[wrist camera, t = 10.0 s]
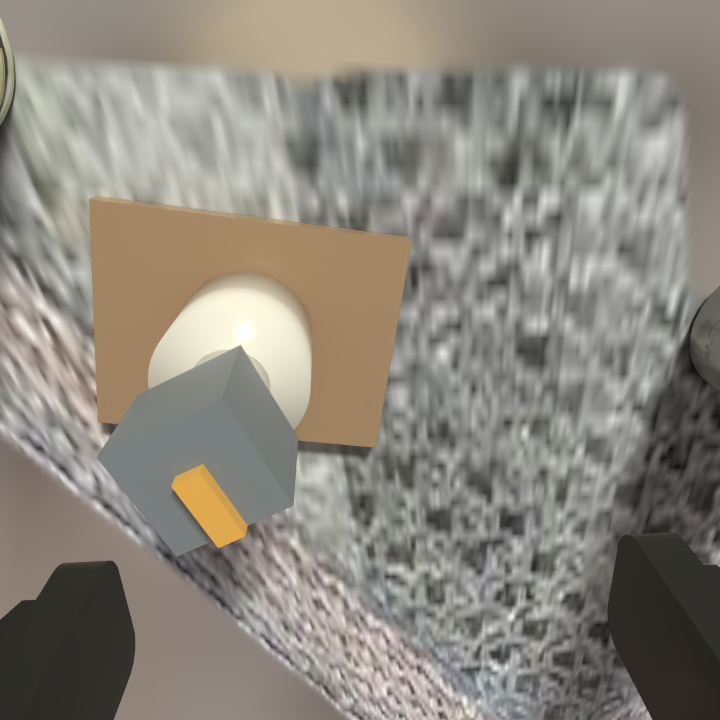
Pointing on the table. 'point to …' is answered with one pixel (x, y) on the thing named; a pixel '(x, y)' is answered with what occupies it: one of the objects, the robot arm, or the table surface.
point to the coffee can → (5, 73)
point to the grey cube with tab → (205, 454)
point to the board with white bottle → (247, 309)
